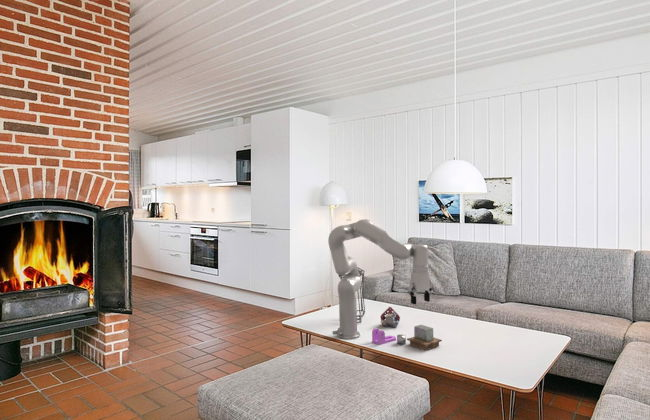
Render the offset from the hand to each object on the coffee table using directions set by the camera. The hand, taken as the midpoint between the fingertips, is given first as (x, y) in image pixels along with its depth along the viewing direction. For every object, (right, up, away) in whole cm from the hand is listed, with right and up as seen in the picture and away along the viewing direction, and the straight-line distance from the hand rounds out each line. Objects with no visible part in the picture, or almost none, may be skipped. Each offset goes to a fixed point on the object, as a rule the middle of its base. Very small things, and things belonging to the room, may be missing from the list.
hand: (420, 302), depth 213 cm
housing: (+1, -18, -2) cm, 18 cm away
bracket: (-17, -22, +5) cm, 28 cm away
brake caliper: (-10, -21, +32) cm, 40 cm away
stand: (+1, -21, -3) cm, 21 cm away
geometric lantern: (-31, -21, +44) cm, 58 cm away
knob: (-10, -21, +1) cm, 23 cm away
